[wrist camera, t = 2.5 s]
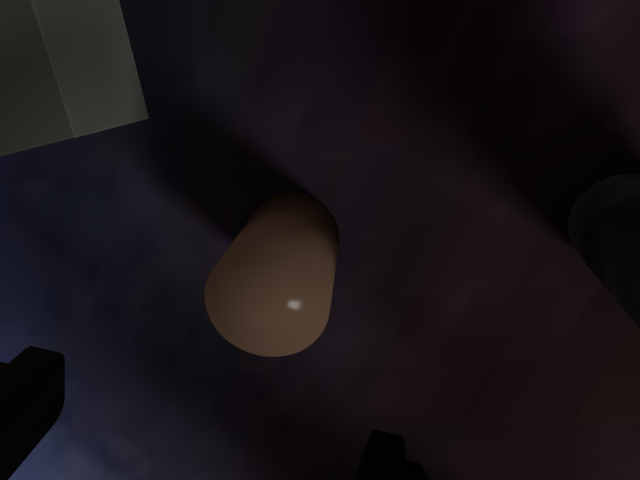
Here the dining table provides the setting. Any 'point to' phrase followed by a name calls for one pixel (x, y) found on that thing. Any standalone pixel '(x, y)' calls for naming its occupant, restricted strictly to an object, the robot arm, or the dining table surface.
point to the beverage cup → (611, 237)
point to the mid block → (27, 83)
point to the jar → (276, 277)
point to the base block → (92, 63)
